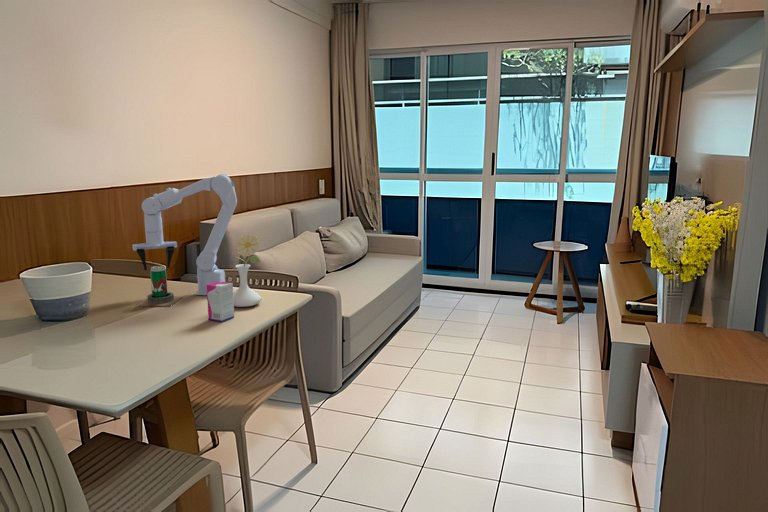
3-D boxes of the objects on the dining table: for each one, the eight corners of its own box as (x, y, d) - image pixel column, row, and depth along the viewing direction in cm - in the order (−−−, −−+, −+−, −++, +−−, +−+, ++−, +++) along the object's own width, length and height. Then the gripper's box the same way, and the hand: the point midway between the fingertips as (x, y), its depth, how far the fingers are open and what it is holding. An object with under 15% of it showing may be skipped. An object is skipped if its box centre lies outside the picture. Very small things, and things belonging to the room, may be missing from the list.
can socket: (182, 297, 188) (182, 291, 188) (170, 306, 178) (169, 299, 177) (152, 297, 188) (151, 290, 188) (137, 306, 178) (137, 299, 177)
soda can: (170, 298, 185) (167, 265, 183) (165, 302, 180) (162, 268, 178) (155, 298, 185) (153, 265, 183) (150, 302, 180) (147, 268, 178)
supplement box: (235, 317, 167) (233, 282, 165) (222, 322, 162) (220, 286, 160) (220, 314, 170) (219, 280, 167) (207, 320, 164) (205, 284, 162)
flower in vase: (220, 307, 178) (216, 234, 173) (241, 298, 188) (238, 229, 183) (252, 311, 173) (249, 236, 168) (272, 302, 183) (269, 232, 178)
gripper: (132, 234, 180) (136, 272, 183) (177, 231, 187) (180, 268, 190) (130, 231, 186) (134, 268, 189) (174, 228, 193) (176, 264, 196)
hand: (156, 268), depth 190 cm, fingers open, 7 cm apart
